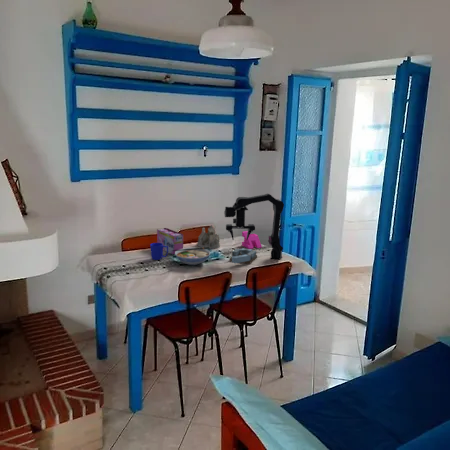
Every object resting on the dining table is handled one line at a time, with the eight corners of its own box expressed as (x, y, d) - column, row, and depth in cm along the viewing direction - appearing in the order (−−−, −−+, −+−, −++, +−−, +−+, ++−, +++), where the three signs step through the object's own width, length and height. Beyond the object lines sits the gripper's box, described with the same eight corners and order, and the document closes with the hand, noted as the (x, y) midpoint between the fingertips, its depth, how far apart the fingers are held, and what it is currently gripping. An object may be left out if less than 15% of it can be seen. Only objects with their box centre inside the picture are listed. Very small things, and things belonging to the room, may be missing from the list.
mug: (166, 261, 293) (166, 246, 290) (148, 260, 295) (148, 245, 293) (170, 257, 301) (170, 243, 298) (153, 256, 303) (152, 242, 301)
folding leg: (249, 258, 293) (249, 253, 292) (251, 260, 291) (252, 254, 290) (231, 262, 286) (231, 256, 285) (234, 263, 284) (234, 257, 283)
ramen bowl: (176, 270, 276) (176, 258, 274) (170, 259, 297) (170, 247, 295) (215, 267, 282) (215, 255, 280) (207, 256, 304) (207, 245, 302)
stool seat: (257, 258, 302) (257, 250, 301) (249, 264, 290) (250, 255, 289) (237, 255, 308) (237, 247, 306) (229, 261, 295) (230, 253, 294)
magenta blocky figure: (241, 245, 333) (242, 231, 330) (254, 243, 337) (254, 230, 334) (249, 249, 322) (249, 235, 320) (261, 247, 326) (262, 234, 324)
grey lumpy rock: (196, 242, 336) (197, 223, 332) (217, 242, 339) (219, 223, 335) (198, 250, 322) (199, 230, 317) (221, 250, 325) (222, 230, 320)
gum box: (155, 247, 325) (155, 228, 322) (165, 245, 330) (164, 227, 327) (174, 255, 307) (173, 235, 304) (183, 252, 312) (183, 234, 309)
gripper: (253, 214, 300) (252, 236, 303) (225, 214, 299) (225, 236, 302) (255, 217, 289) (254, 241, 293) (226, 217, 288) (226, 241, 292)
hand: (240, 240), depth 295 cm, fingers open, 9 cm apart
